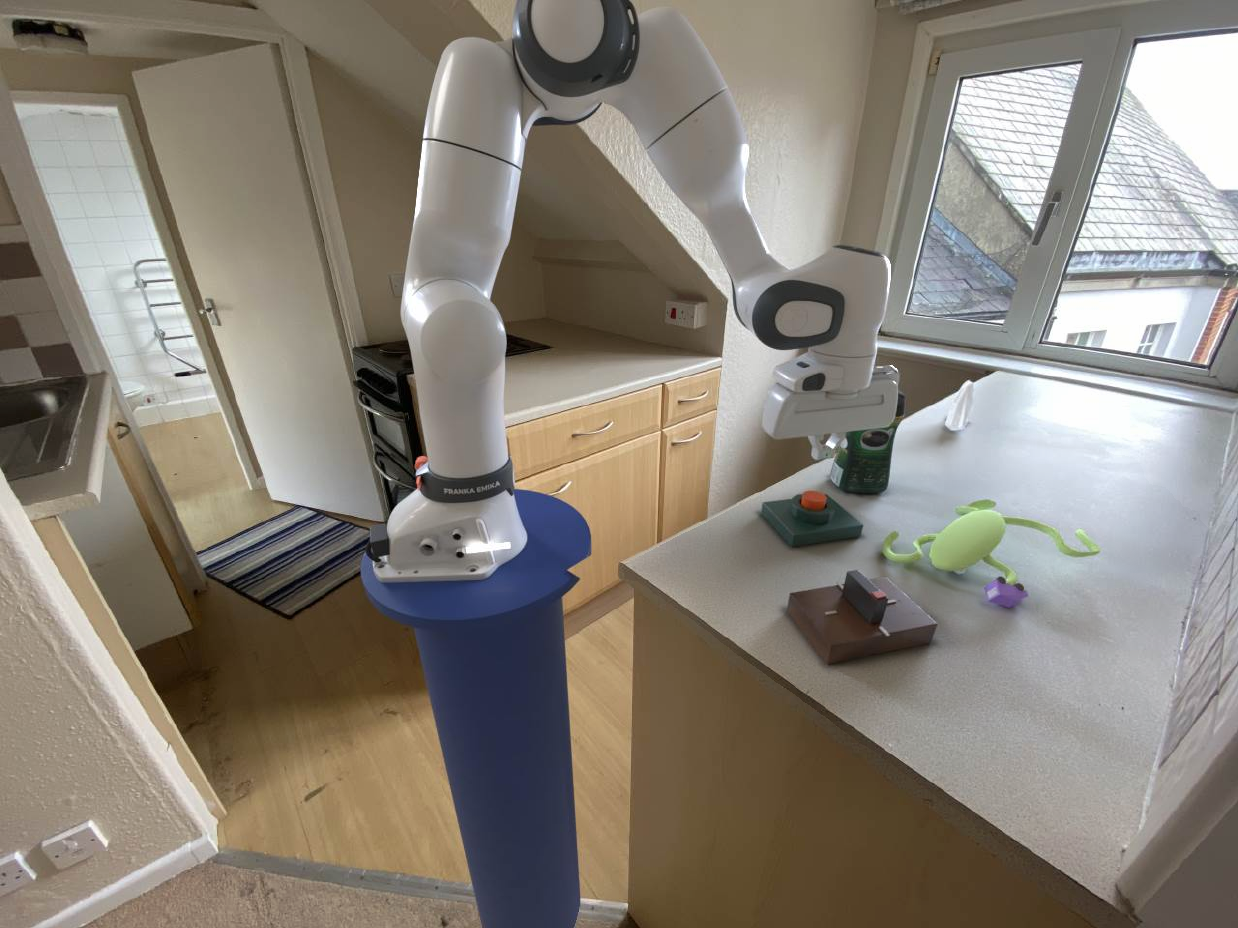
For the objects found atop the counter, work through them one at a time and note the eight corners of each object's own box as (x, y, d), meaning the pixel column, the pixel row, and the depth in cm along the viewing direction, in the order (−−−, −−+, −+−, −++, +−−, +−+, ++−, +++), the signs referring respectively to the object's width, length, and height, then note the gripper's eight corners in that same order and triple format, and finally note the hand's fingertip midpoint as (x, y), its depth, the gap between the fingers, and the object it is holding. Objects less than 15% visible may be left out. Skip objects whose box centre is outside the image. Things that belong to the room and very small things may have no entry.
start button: (808, 512, 82) (810, 503, 82) (796, 501, 85) (798, 491, 85) (829, 509, 83) (831, 500, 82) (816, 498, 86) (818, 489, 85)
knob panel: (828, 667, 60) (833, 646, 58) (784, 609, 68) (788, 590, 67) (933, 645, 63) (940, 624, 61) (879, 592, 71) (884, 573, 70)
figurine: (1104, 569, 75) (1120, 536, 73) (991, 630, 65) (1006, 594, 62) (976, 509, 90) (986, 480, 88) (866, 550, 79) (874, 519, 77)
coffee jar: (876, 476, 101) (899, 382, 93) (891, 496, 94) (917, 397, 86) (824, 473, 102) (842, 381, 94) (835, 494, 95) (855, 395, 87)
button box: (791, 547, 80) (795, 524, 78) (760, 513, 89) (763, 492, 87) (860, 536, 83) (866, 514, 81) (824, 504, 92) (828, 484, 90)
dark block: (841, 593, 66) (847, 569, 64) (852, 591, 66) (858, 567, 65) (870, 624, 61) (877, 599, 60) (882, 621, 62) (889, 596, 60)
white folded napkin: (962, 436, 118) (977, 389, 113) (941, 432, 120) (955, 385, 116) (969, 420, 127) (983, 375, 122) (949, 416, 129) (962, 372, 124)
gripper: (887, 358, 79) (868, 442, 86) (762, 368, 75) (752, 456, 81) (917, 370, 74) (895, 458, 80) (785, 382, 70) (772, 474, 76)
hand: (822, 457), depth 81 cm, fingers closed
